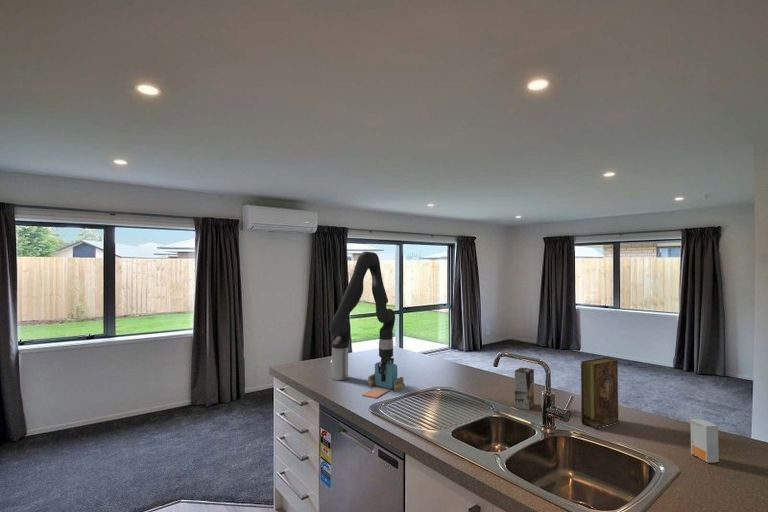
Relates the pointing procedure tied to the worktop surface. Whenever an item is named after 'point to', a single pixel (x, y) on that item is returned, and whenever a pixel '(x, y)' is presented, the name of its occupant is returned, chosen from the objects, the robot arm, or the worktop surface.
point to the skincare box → (704, 440)
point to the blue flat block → (390, 376)
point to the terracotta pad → (375, 392)
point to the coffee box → (524, 388)
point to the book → (599, 392)
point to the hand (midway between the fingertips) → (385, 379)
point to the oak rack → (397, 383)
